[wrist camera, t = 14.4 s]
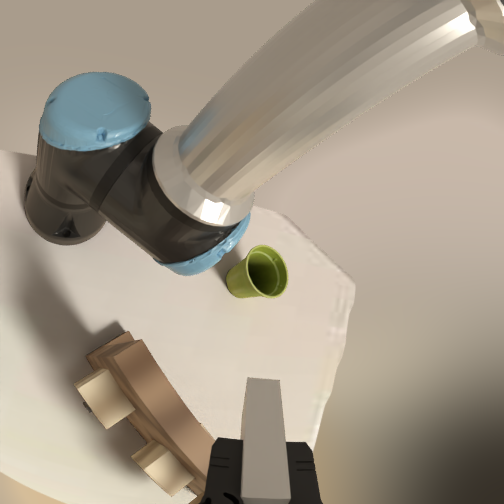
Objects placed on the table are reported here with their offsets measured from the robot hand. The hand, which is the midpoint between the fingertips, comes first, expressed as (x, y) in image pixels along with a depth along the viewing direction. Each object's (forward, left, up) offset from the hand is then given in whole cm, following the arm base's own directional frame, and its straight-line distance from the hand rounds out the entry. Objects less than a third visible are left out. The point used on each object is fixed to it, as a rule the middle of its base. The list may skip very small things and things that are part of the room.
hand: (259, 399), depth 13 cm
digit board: (+10, -4, -33) cm, 34 cm away
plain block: (+10, -5, -24) cm, 26 cm away
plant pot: (+9, +28, -33) cm, 44 cm away
